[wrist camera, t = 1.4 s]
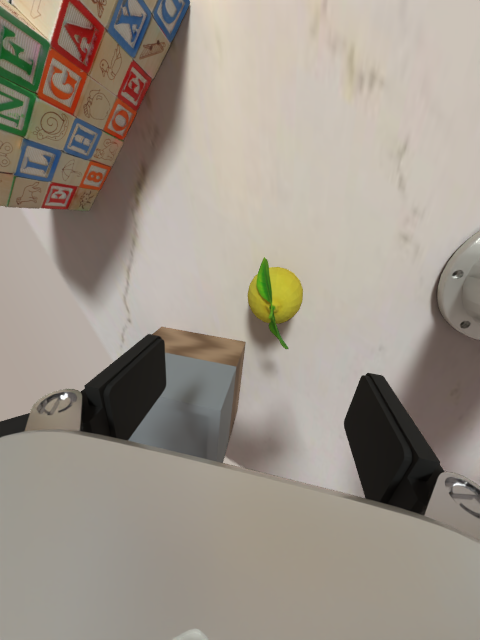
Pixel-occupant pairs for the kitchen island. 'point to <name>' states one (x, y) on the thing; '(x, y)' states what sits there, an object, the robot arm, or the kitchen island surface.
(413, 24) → the kitchen island surface
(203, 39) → the kitchen island surface
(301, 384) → the kitchen island surface
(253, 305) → the lemon
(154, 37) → the stack of blocks
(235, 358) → the tower base block
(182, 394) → the tower top block
